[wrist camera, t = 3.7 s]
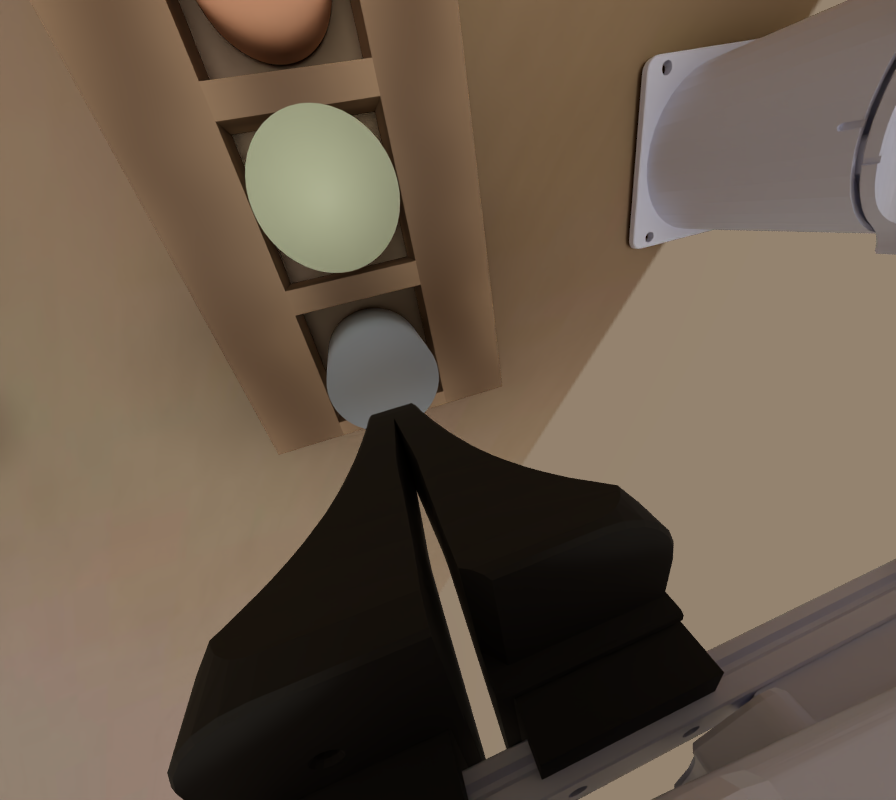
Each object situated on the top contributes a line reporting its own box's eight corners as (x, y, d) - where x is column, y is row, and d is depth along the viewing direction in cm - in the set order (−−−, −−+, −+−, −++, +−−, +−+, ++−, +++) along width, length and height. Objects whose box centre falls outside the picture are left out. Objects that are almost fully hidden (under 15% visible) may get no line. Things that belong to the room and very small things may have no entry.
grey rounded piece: (409, 297, 16) (426, 315, 13) (429, 381, 18) (447, 412, 15) (313, 321, 15) (308, 346, 12) (346, 405, 17) (348, 443, 14)
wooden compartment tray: (411, -203, 11) (425, -284, 9) (488, 372, 21) (502, 386, 19) (-41, -194, 9) (-132, -294, 7) (284, 433, 19) (278, 454, 17)
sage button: (368, 121, 13) (378, 91, 10) (398, 249, 15) (413, 256, 12) (244, 142, 12) (214, 117, 9) (294, 273, 14) (283, 286, 11)
